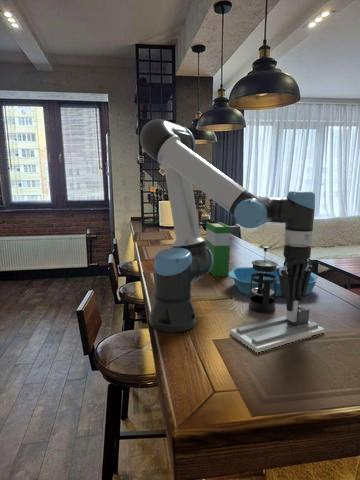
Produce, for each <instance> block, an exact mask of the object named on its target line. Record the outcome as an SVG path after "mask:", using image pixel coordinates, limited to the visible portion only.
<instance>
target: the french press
mask: <svg viewBox="0 0 360 480" xmlns="http://www.w3.org/2000/svg"><path fill="white" fill-rule="evenodd" d="M259 248H261V249H263V252H264V257H263V258H264V259H255V260H251V264H252V267H253V269H254V270H256V271H261V272H264V273H253V274H251V284H250V295H249V303H248V309H249V310H251V311H253V312H255V313H259V314H271V312H272V313H274V312H275V311H276V297H277V296H276V284H277V277H276V276H275V275H273V274H269V273H265V272H273V271H276V268H277V267H278V265H279V263H278V262H276V261H274V260H267V259H266V255H267V250H268V249H272V246H270V245H266V244H265V245H260V246H259ZM256 276H259V279H256V278H254V277H256ZM264 276H265V277H270V278H273V280H264ZM252 281H254V282H257V283H258V287H257V288H253V289H252ZM272 283H275V287H274V290H272V289H270V284H272ZM251 293H252V294H254V296H253V295H251ZM273 295H274V296H273Z"/></svg>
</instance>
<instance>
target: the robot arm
mask: <svg viewBox="0 0 360 480" xmlns="http://www.w3.org/2000/svg"><path fill="white" fill-rule="evenodd" d="M139 134H140V135H139V141H140V145H141V148H142V150H143V151H144V152H145V153H146V154H147V155H148V156H149V157H150V158H151V159H153V160H155V161H156V162H157V163H158V166H159V168H160V169H161V170H163V171H164V175H165V182H166V186H167V193H168V197H169V198H168V199H169V206H170V210H171V211H170V212H171V217H172V222H173V228H174V235H175V241H174V242H173V244H172V247H170V248H165V249H162V250H160V251H158V252H157V253H156V254H155V256H154V260H153V261H154V262H153V275H154V276H153V277H154V278H153V283H154V284H153V285H154V289H153V291H154V292H153V294H154V297H153V298H154V300H153V303H152V306H151V308H150V312H149V315H148V324H149V326H150V327H151V328H152V329H154V330H156V331H159V332H163V333H182V332H183V333H184V332H187V331H189V330H191V329H192V328H194V327H195V325H197V316H196V315H197V314H196V312H195V308H194V306H193V303H192V284H193V283H195V282H197V281H199V280H200V279H203V278H205V277H206V276H207V275H208V274H209V273H210V272H209V271H210V270H211V268H212V266H213V255H212V252H211V251H210V249H208V248H207V247H206V238H204V237H202V236H201V232H200V228H199V227H200V225H199V220H198V213H197V207H196V199H195V195H194V194H195V193H194V187H196V188H197V189H199V191H201V192H202V193H204V194H205V195H206V196H207V197H209V199H211V200H213V201H214V202H215V203H216V204H218V205H219V206H221V207H222V208H223V209H224V210H226V211H228V213H230V214H231V215H232V216H233V217H234V219H235V221H236V224H238V225H239V226H240V227H242V228H244V229H255V228H259V227H261V226H262V225H264V224H266V223H275V224H276V223H277V224H285V226H284V227H285V228H284V229H285V230H284V239H283V241H284V244H283V253H282V255H283V257H284V262H283V266H282V267H277V268H278V269H277V273H278V275H279V280H280V288H281V296H280V297H281V298H282V299H284V300H286V316H287V319H288V320H290V321H292V322H296V321H297V310H298V308H299V305H300V302H302V301H303V298H305V297H306V295H305V294H306V290H307V286H308V283H309V279H310V275H311V273H313V271H314V269H315V268H314V266H313V265H311V264H309V259H310V258H311V254H312V253H311V252H312V247H311V245H312V238H313V230H314V219H315V213H316V212H315V210H316V194H315V193H314V192H313V191H307V190H306V191H304V190H303V191H302V190H301V191H300V190H298V191H297V190H291V191H288V193H287V196H286V197H276V196H275V197H274V196H273V197H272V196H269V197H268V196H256V195H254V194H253V193H251V192H249V191H248V190H247V189H246V188H245V187H243V186H241V185H240V184H239V183H237V182H236V181H235V180H234V179H232V178H230V176H227V175H226V174H225V173H223V172H222V171H220V170H219V169H218V168H217V167H215V166H214V165H212V164H211V163H209V162H208V161H207V160H206V159H205V158H203V157H201V156H200V155H199V154H197V153H196V152H195V149H196V139H195V136H194V135H193V133H192V131H190V129H188V128H187V127H185V126H184V125H182V124H178V123H173V122H170V121H168V120H165V119H161V118H157V119H156V118H155V119H152V120H150V121H148V122H147V123H145V125H144V126H143V127H142V129H141V131H140V133H139ZM193 186H194V187H193ZM279 268H281V269H279Z"/></svg>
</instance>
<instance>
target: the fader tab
mask: <svg viewBox="0 0 360 480" xmlns="http://www.w3.org/2000/svg"><path fill="white" fill-rule="evenodd" d="M309 318H310V308H308V307H305V306H303V305H301V304H299V308H298V310H297V321H296V322H292V321H290V320H288V319H287V322H289V323H290V324H292V325H294V326H299V325H303V324H306V323H308V321H309Z"/></svg>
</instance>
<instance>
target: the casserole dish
mask: <svg viewBox="0 0 360 480" xmlns="http://www.w3.org/2000/svg"><path fill="white" fill-rule="evenodd" d="M278 268H279V269H281V268H282V267H276V271H273V272H265V273H269V274H273V275H275V276H276V277H277V284H276V297H282V296H281V288H280V280H279V275H278V273H277V269H278ZM253 273H264V272H261V271H256V270H254V269H253V266H252V267H251V266H250V267H249V266H246V267H244V266H243V267H236V268H233V269H232V270H231V271H229V273H228V275H229V276H228V277H229V278H230V279H232V280H233V281H234V283H235V286H236V287H237V289H238V291H239V292H240V293H241V294H243V295H245V296H246V295H247V296H250V284H251V274H253ZM254 278H256V279H259V276H256V277H254ZM317 279H318V275H317V274H315V273H314V272H312V273H311V275H310V279H309V283H308V286H307V290H306V294H305V296H306V295H309V294H311V292H312V291H313V290H314V287H315V285H316V283H317ZM264 280H273V278H270V277H265V276H264ZM257 287H258V283H257V282H254V281H252V289H253V288H257ZM274 287H275V283H272V284H270V289H272V290H274ZM251 296H254V294H252V293H251ZM272 297H274V295H273V296H272Z"/></svg>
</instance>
